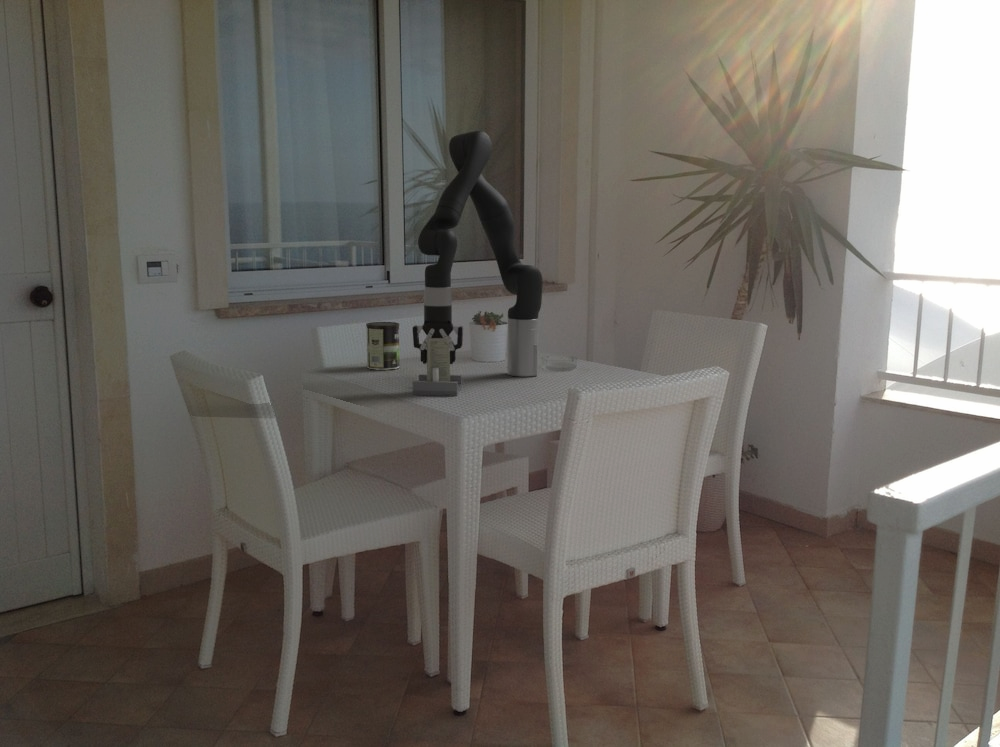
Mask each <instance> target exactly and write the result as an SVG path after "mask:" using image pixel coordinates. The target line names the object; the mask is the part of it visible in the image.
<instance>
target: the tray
mask: <svg viewBox="0 0 1000 747" xmlns="http://www.w3.org/2000/svg"><path fill="white" fill-rule="evenodd" d="M462 388H463V375H462V374H450V381H439V368H433V381H428V380H427V373H419V374H418V380H413V381H412V395H413V396H445V395H449V396H451V397H452V396H456V397H457V396H458V395H459V393H460V392H461V390H462ZM459 391H460V392H459Z"/></svg>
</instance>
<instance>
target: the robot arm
mask: <svg viewBox="0 0 1000 747" xmlns="http://www.w3.org/2000/svg"><path fill="white" fill-rule="evenodd" d="M448 151H449V155H450V158H451V161H452V163H453V165H454V167H455V169H456V171H457V173H456V176H454V178H453V179H452V180H451V181H450V182H449V183H448V185H447V186H446V187H445V189H444V191H443V192H442V194H441V196H440V197H439V200H438V203H437V206H436V208H435V211H434V214H432V216H431V217H430V218H429V220H428V221H427V222H426V224H425V225H424V226H423V228H422V229H421V230H420V232H419V235H418V240H417V245H418V246H417V247H418V250H419V251H420V252H421V254H423V255H425V256H436V257H437V256H438V257H439V258H438V259H437V262H436V263H434V264H429V265H426V267H425V269H424V293H423V324H422V325H413V327H412V341H413V342H412V343H413V347H414V349H419V351H420V361H421V362H422V364H424V365H425V364H426V365H427V350H426V345H427V339H428V338H444V339H445V341H446V343H447V344H448V343H450V365H453V364H454V363H455V361H456V353H457V352H456V351H457V350H459V349H461V348H462V347H463V340H464V339H463V338H464V327H463V325H459V326H457V325H456V326H455V325H454V324H453V321H452V320H453V318H452V317H453V316H452V314H453V313H452V312H453V311H452V308H453V306H452V305H453V304H452V302H453V299H452V298H453V296H452V294H453V293H452V288H451V284H452V280H451V279H452V275H451V274H452V273H451V272H452V268H453V264H454V260H455V256H456V254H457V250H458V249H457V248H458V239H457V236H456V234H455V232H454V231H453V230H451V229H454V228H457V226H458V224H459V223H460V220H461V217H462V214H463V212H464V209H465V205H466V203H467V201H468V199H469V196H470V199H471V200H472V203H473V206H474V208H475V210H476V214H477V216H478V218H479V221H480V223H481V226H482V228H483V231H484V232H485V235H486V237H487V240H488V242H489V245H490V248H491V249H492V253H493V255H494V257H495V260H496V263H497V267H498V271H499V274H500V277H501V281H502V283H503V285H504V288H505V290H507V291H508V293H510V294H512V295H516V302H515V304H514V305H513V306H511V307H509V308H508V310H507V345H506V346H507V348H506V349H507V350H506V351H507V353H506V354H507V355H506V357H507V358H506V359H507V361H506V364H507V366H506V373H507V375H509V376H513V377H538V372H539V371H538V369H539V364H538V363H539V313H540V311H541V307H542V302H543V301H542V299H543V298H542V297H543V287H544V286H543V285H544V284H543V283H544V282H543V276H542V272H541V270H540V268H538V267H537V266H536V265H535V266H534V265H530V264H522V262H521V260H520V258H519V255H518V253H517V250H516V247H515V231H516V227H515V226H516V224H515V219H514V216H513V213H512V212H511V209H510V206H509V204H508V202H507V200H506V199H505V197H504V196H503V195H502V194H501V193H500V192H499V191H498V190H497V189H496V188H494V186H492V185H491V184H490V183H489V182H488V181H487V180H486V178H485V177H484V176H483V174H482V173H483V171H484V169H485V168H486V166H487V164H488V163H489V160H490V158H491V155H492V152H493V143H492V140H491V138H490V136H489V134H487V133H486V132H485V131H482V130H473V131H468V132H465V133H460V134H456V135H454V136H453V137H451V139H450V140H449V144H448ZM422 331H423V332H424V333H425V335H426V337H425V339H424V340H423V342H422V343H420V337H419V336H420V333H421V332H422ZM453 331H454V332H455V334H456V335H457V337H456V338H457V339H456V343H454V342H453V339H452V337H451V336H450V335H451V333H452V332H453ZM449 338H450V339H449ZM446 339H447V340H446Z"/></svg>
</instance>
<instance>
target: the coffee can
mask: <svg viewBox="0 0 1000 747" xmlns="http://www.w3.org/2000/svg"><path fill="white" fill-rule="evenodd" d="M365 326H366V355H367V356H366V357H367V359H366V360H367V362H366V363H367V367H366V368H369V369H368V370H370V369H376V370H375V371H379V370H385V371H389V370H388V369H396V370H398V369H397V368H399V367H400V323H399V322H395V321H374V322H373V321H372V322H367V323H366V325H365ZM399 369H400V368H399Z"/></svg>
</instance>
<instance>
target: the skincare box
mask: <svg viewBox="0 0 1000 747" xmlns="http://www.w3.org/2000/svg"><path fill="white" fill-rule="evenodd" d="M449 339H450V338H449ZM446 340H447V339H446ZM426 350H427V363H426V374H427V380H428V381H433V368H439V381H450V375H451V364H450V350H451V349H450V343H448V344H447V343H446V341H445V339H444V338H428V339H427V345H426Z"/></svg>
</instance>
